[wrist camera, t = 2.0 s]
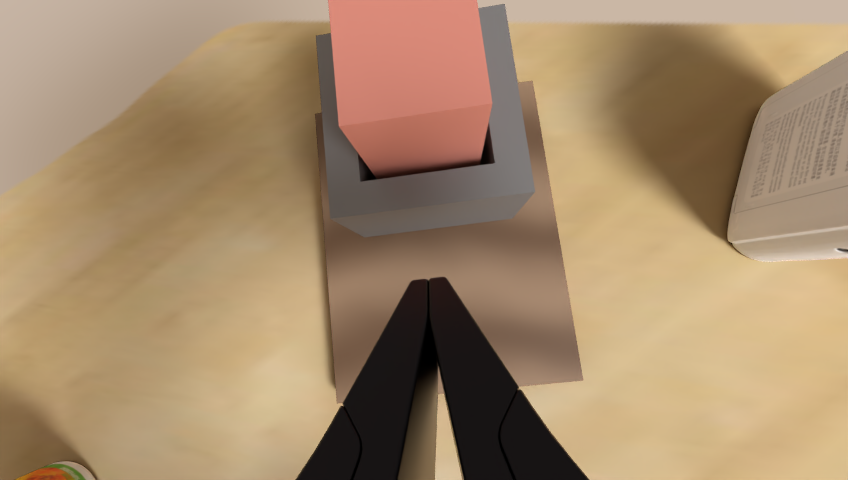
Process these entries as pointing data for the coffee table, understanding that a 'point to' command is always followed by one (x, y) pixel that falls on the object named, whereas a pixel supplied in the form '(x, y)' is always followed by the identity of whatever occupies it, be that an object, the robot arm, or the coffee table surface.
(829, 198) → the photo printer
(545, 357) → the board
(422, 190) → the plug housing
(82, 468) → the supplement bottle
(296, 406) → the coffee table surface
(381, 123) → the plug
